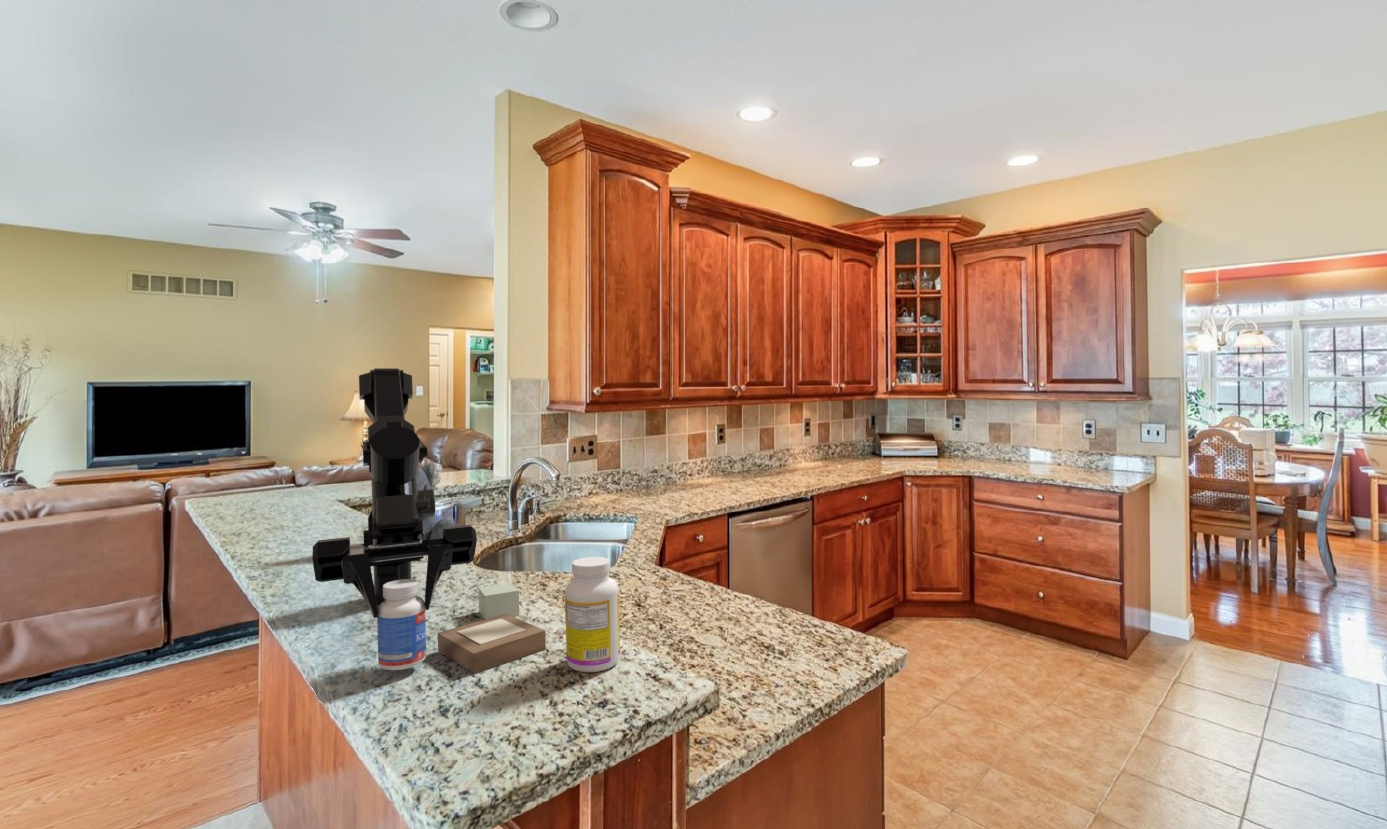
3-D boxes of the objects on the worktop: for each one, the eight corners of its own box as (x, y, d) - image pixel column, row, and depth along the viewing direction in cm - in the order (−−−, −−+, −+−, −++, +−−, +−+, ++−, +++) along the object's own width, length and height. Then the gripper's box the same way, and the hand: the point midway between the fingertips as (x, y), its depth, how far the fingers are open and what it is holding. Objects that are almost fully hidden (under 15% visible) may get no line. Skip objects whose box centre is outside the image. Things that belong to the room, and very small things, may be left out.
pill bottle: (426, 667, 77) (423, 587, 76) (376, 675, 75) (373, 593, 74) (427, 650, 82) (424, 575, 81) (380, 656, 80) (378, 580, 79)
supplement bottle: (590, 648, 84) (588, 552, 84) (630, 658, 81) (628, 558, 80) (554, 667, 78) (552, 564, 78) (596, 679, 75) (594, 571, 75)
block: (479, 613, 99) (478, 587, 99) (511, 607, 102) (510, 582, 102) (485, 622, 95) (485, 596, 95) (519, 616, 97) (518, 590, 97)
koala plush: (372, 562, 131) (369, 468, 130) (359, 546, 146) (356, 461, 145) (458, 549, 141) (456, 461, 141) (438, 535, 156) (435, 456, 155)
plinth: (438, 651, 84) (437, 631, 84) (506, 630, 91) (506, 612, 91) (474, 674, 77) (473, 652, 77) (545, 649, 84) (545, 629, 84)
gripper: (310, 474, 76) (305, 591, 67) (473, 464, 85) (488, 566, 76) (317, 527, 84) (314, 638, 74) (466, 513, 92) (480, 611, 83)
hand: (401, 612), depth 77 cm, fingers closed on pill bottle, 5 cm apart
